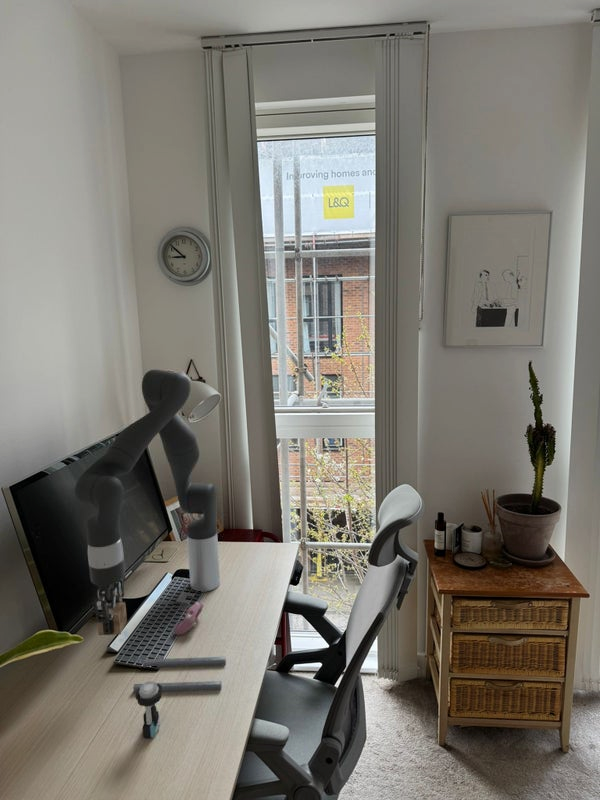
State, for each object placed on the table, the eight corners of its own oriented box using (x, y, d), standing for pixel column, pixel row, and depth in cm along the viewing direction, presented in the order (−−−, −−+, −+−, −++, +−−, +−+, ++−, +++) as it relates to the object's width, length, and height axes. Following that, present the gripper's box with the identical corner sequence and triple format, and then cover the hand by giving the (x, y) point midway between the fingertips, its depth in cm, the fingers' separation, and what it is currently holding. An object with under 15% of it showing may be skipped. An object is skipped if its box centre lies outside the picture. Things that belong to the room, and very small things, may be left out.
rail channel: (145, 664, 131) (144, 659, 131) (226, 662, 132) (225, 656, 131) (133, 692, 122) (133, 687, 122) (221, 689, 122) (220, 684, 122)
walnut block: (106, 622, 127) (103, 602, 126) (127, 621, 127) (125, 602, 126) (98, 635, 122) (96, 615, 121) (120, 634, 122) (118, 614, 121)
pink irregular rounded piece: (186, 642, 142) (196, 622, 141) (171, 634, 143) (181, 613, 141) (199, 620, 152) (208, 601, 150) (185, 612, 152) (194, 593, 151)
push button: (144, 715, 115) (140, 674, 113) (169, 714, 115) (166, 673, 114) (135, 740, 109) (131, 697, 107) (162, 739, 109) (158, 696, 107)
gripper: (112, 574, 114) (119, 645, 117) (132, 543, 128) (138, 608, 131) (77, 575, 114) (85, 646, 117) (100, 544, 128) (107, 609, 131)
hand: (113, 625), depth 124 cm, fingers closed on walnut block, 5 cm apart
